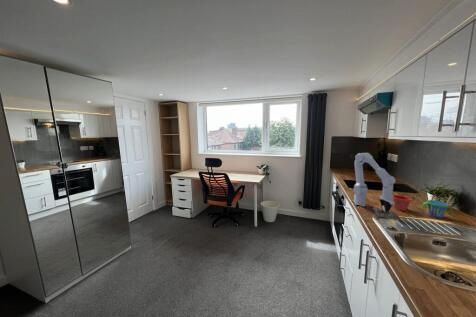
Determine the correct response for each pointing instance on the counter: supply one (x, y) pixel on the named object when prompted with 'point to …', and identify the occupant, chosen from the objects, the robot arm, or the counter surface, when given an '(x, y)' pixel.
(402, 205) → the flower pot
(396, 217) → the collar
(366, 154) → the robot arm
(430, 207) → the snack cup
